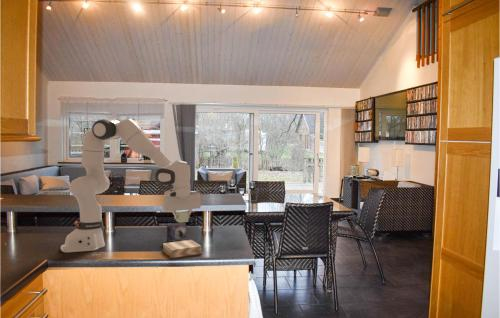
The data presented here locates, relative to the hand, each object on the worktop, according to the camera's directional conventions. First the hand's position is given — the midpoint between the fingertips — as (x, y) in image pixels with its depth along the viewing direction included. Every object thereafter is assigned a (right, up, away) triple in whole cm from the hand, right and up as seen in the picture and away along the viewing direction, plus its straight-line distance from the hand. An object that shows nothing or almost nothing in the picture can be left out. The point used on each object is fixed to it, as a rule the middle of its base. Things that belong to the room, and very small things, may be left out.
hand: (182, 218), depth 221 cm
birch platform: (0, -18, +1) cm, 18 cm away
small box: (-6, -17, +21) cm, 27 cm away
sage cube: (0, -2, 0) cm, 2 cm away
